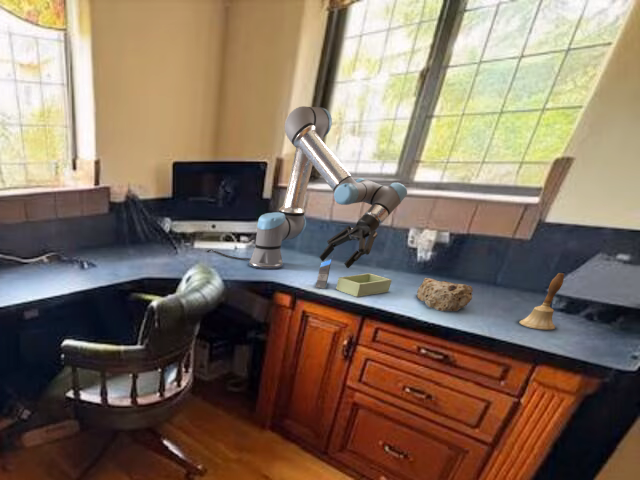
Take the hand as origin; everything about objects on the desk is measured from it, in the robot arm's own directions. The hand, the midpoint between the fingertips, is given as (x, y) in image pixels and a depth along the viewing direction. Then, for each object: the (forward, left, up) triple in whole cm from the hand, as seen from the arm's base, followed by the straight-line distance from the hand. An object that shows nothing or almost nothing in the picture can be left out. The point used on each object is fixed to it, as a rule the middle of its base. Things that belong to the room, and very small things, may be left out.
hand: (333, 262), depth 168 cm
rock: (+35, +18, -9) cm, 41 cm away
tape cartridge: (0, -4, -9) cm, 10 cm away
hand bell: (+61, +24, -9) cm, 66 cm away
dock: (+12, +5, -9) cm, 16 cm away
